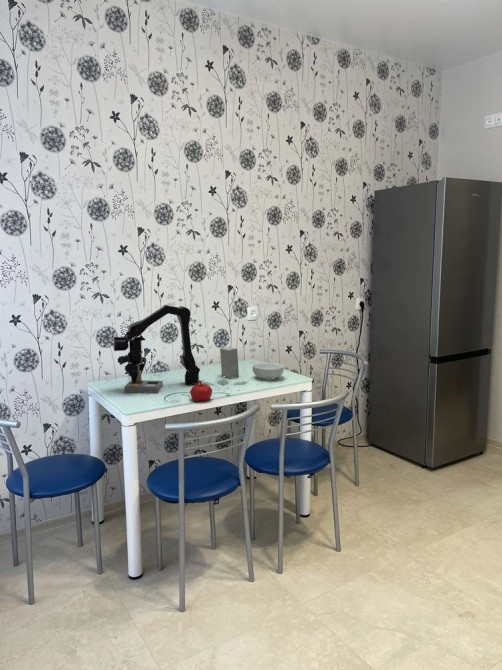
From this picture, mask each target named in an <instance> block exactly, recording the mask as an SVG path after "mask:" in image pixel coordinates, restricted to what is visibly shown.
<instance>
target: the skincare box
mask: <svg viewBox="0 0 502 670" xmlns="http://www.w3.org/2000/svg"><path fill="white" fill-rule="evenodd" d="M219 350H220V351H219V352H220V365H221V366H220V367H221V368H220V369H221V371H220V373H221V376H222V377H224V376H225V377H224V378H227V379H233V378H239V376H240V374H239V373H240V372H239V371H240V370H239V354H238V348H235V347H231V346H226V347H220V349H219Z"/></svg>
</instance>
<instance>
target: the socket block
mask: <svg viewBox="0 0 502 670" xmlns="http://www.w3.org/2000/svg"><path fill="white" fill-rule="evenodd" d="M163 383H164V382H163V380H148V379H147V380H146V379H144V380H142V383H141V384H132V382H131V380H129V381H128V382H127V383H126V384H125V385H124V386H123V388H124V394H125V393H126V394H158V393H159V392H160V391H161V390H162V388H163V386H164V385H163Z"/></svg>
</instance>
